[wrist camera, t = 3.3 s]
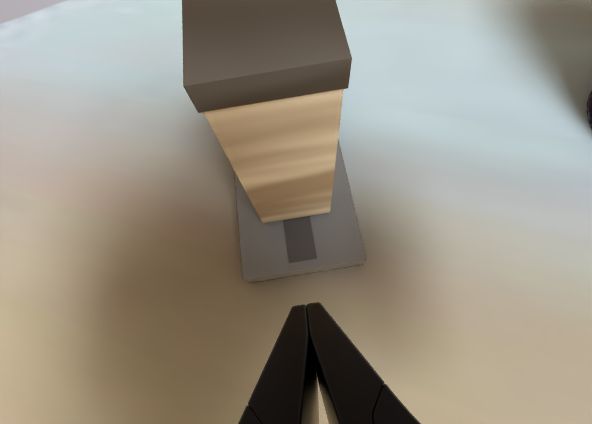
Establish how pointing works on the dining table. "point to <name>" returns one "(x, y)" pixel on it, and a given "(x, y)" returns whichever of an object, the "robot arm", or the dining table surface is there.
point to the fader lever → (271, 95)
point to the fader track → (300, 236)
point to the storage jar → (589, 109)
